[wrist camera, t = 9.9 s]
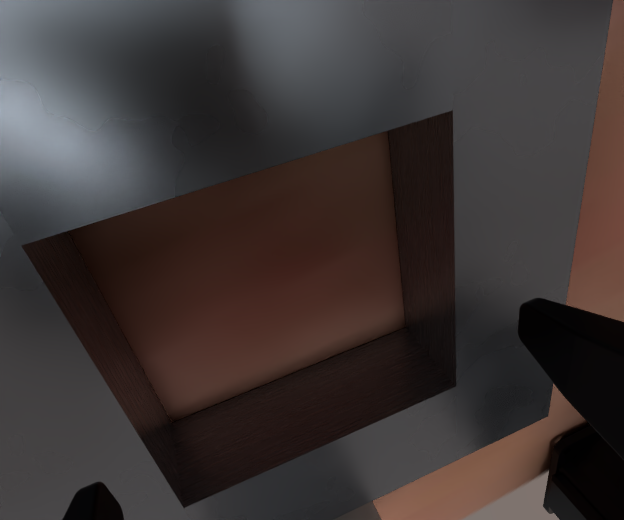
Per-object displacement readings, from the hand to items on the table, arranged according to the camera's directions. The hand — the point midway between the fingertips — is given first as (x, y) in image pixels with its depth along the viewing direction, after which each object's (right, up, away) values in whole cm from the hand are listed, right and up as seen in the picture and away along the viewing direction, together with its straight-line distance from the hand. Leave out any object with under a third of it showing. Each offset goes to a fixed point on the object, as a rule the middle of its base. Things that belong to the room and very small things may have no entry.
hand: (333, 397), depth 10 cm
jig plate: (-2, +2, +4) cm, 5 cm away
